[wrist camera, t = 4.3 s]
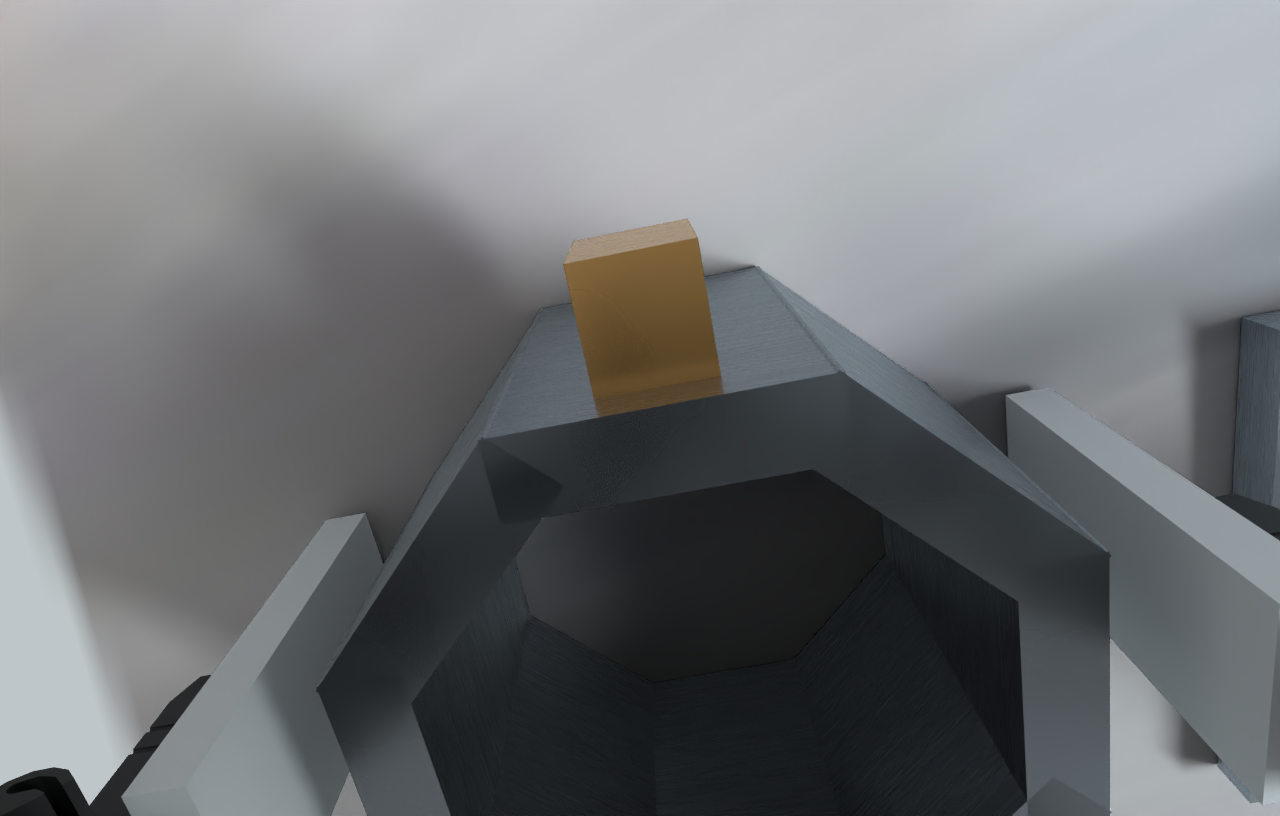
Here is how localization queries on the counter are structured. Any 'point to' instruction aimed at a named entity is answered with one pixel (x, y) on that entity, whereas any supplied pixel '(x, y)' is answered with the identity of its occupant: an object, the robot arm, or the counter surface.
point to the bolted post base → (1257, 429)
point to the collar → (747, 697)
